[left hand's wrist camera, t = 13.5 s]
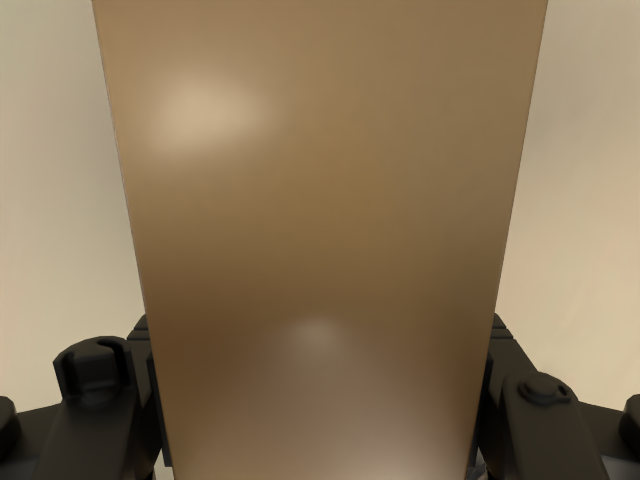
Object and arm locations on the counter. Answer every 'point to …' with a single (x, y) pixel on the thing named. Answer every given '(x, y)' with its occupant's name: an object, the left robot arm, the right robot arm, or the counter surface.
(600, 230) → the counter surface
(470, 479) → the figurine character
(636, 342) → the counter surface
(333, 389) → the bar
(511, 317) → the counter surface
